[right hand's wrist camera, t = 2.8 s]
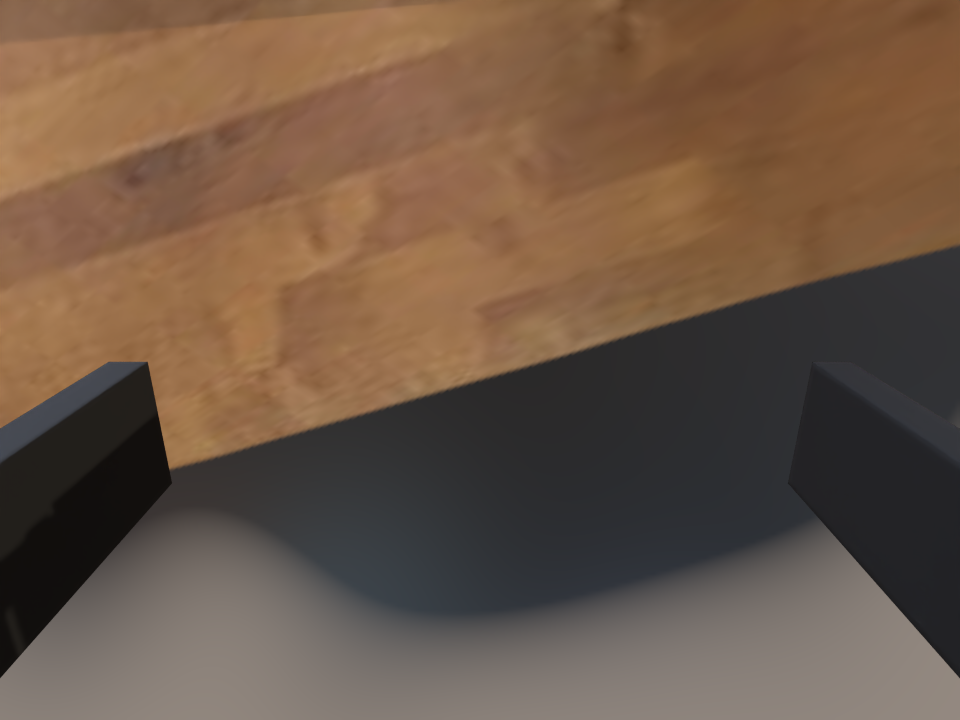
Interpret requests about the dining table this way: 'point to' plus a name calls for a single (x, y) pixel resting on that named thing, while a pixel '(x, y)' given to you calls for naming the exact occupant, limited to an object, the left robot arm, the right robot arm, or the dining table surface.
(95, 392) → the right robot arm
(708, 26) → the dining table surface
